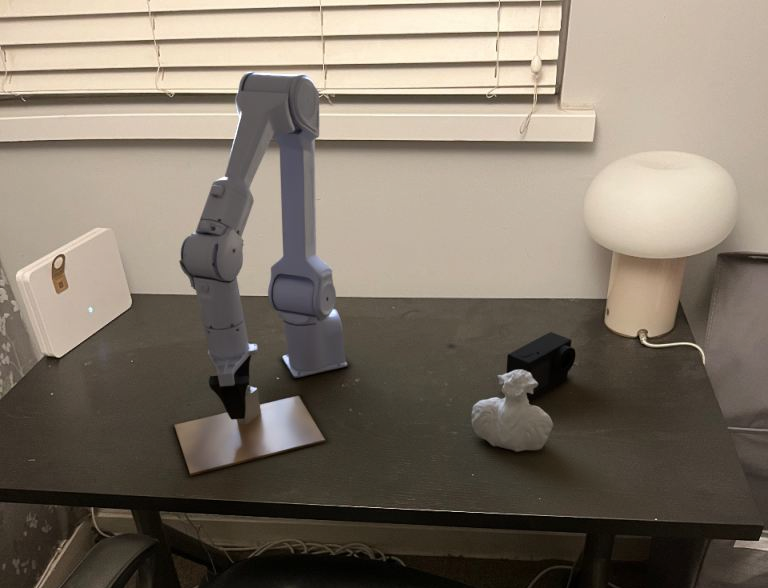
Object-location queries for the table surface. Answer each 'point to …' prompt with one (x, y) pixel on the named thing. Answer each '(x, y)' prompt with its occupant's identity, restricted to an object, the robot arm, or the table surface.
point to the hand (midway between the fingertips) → (239, 404)
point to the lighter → (251, 405)
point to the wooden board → (247, 436)
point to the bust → (512, 416)
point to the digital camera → (544, 361)
